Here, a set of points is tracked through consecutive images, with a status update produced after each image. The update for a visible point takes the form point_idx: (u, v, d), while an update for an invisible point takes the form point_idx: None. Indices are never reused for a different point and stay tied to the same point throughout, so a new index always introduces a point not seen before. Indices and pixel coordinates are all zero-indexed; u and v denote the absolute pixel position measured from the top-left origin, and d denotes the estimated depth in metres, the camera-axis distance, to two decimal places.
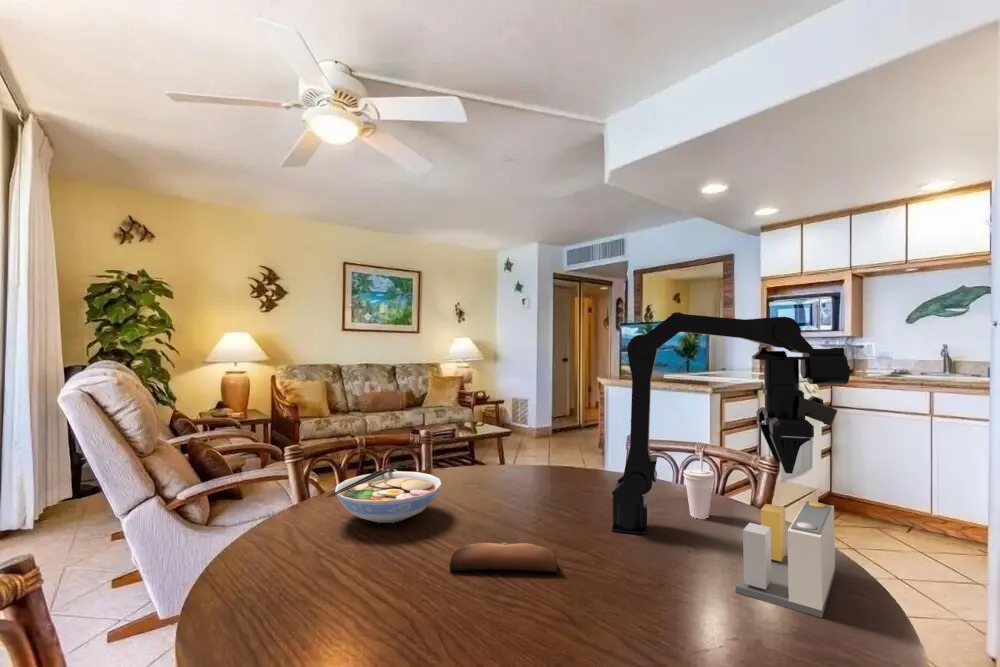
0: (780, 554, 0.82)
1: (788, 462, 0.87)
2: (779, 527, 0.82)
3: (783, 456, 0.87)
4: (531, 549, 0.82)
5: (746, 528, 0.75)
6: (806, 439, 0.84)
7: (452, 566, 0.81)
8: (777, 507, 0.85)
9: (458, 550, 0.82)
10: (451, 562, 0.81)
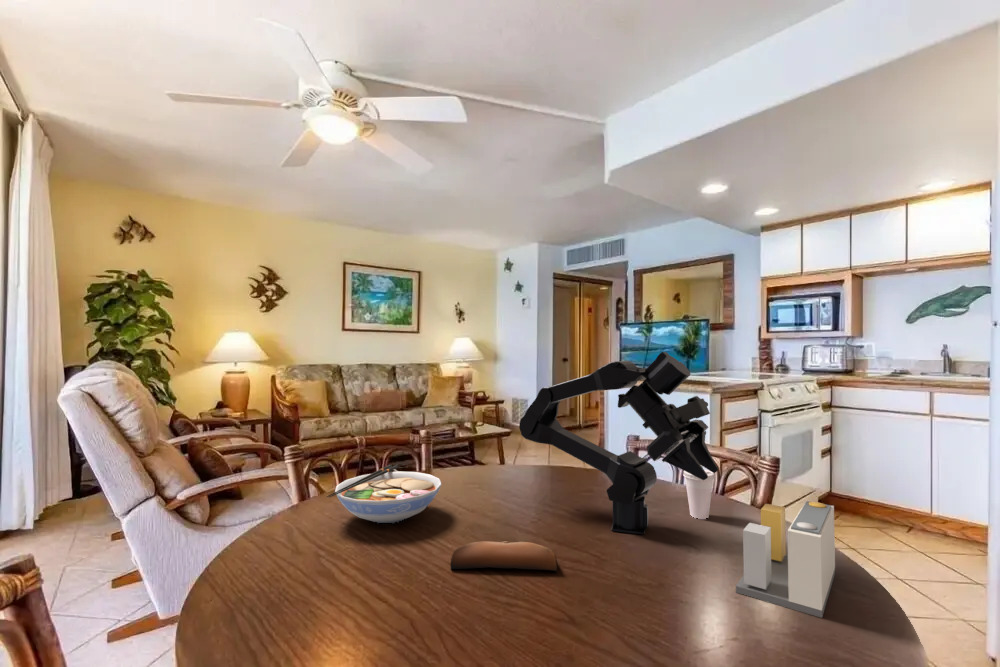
0: (780, 554, 0.82)
1: (695, 470, 0.89)
2: (779, 527, 0.82)
3: (687, 469, 0.89)
4: (531, 548, 0.83)
5: (746, 528, 0.75)
6: (681, 444, 0.88)
7: (452, 564, 0.82)
8: (777, 507, 0.85)
9: (459, 548, 0.83)
10: (452, 560, 0.82)
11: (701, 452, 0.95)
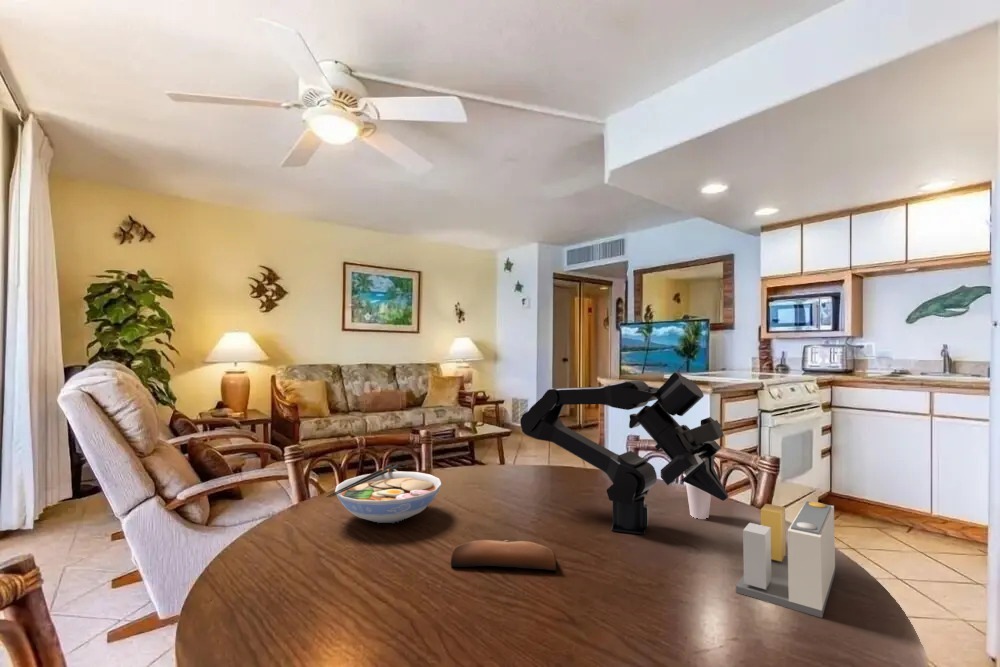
0: (780, 554, 0.82)
1: (715, 491, 0.89)
2: (779, 527, 0.82)
3: (707, 489, 0.90)
4: (531, 548, 0.83)
5: (746, 528, 0.75)
6: (700, 465, 0.89)
7: (453, 562, 0.83)
8: (777, 507, 0.85)
9: (459, 546, 0.84)
10: (452, 558, 0.83)
11: None
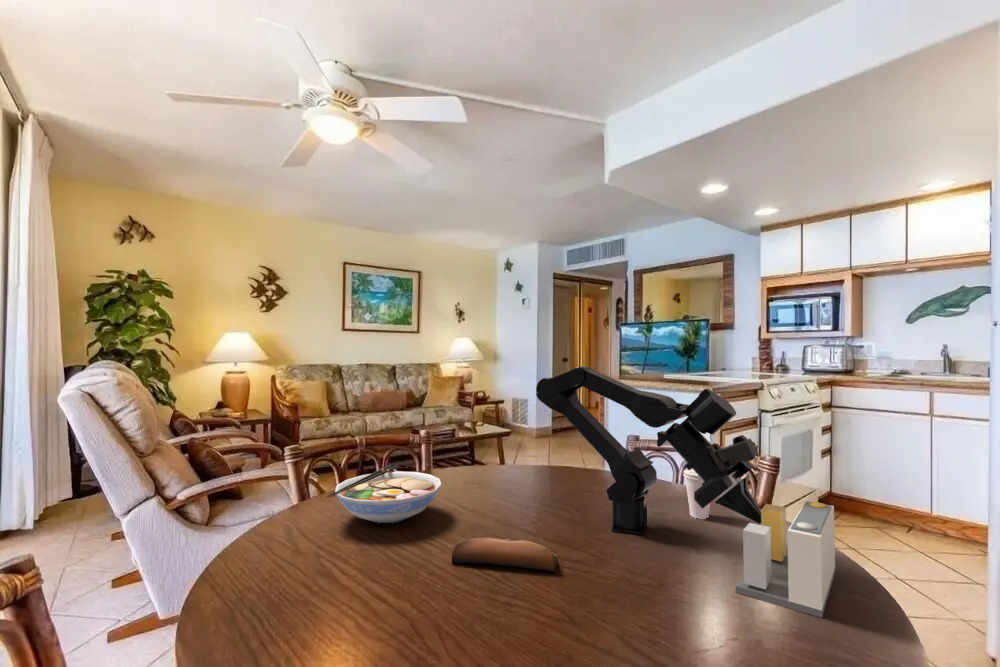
0: (781, 554, 0.82)
1: (750, 513, 0.86)
2: (780, 527, 0.82)
3: (742, 511, 0.86)
4: (530, 547, 0.83)
5: (746, 528, 0.75)
6: (735, 486, 0.85)
7: (453, 558, 0.84)
8: (778, 507, 0.85)
9: (460, 543, 0.85)
10: (453, 554, 0.85)
11: None
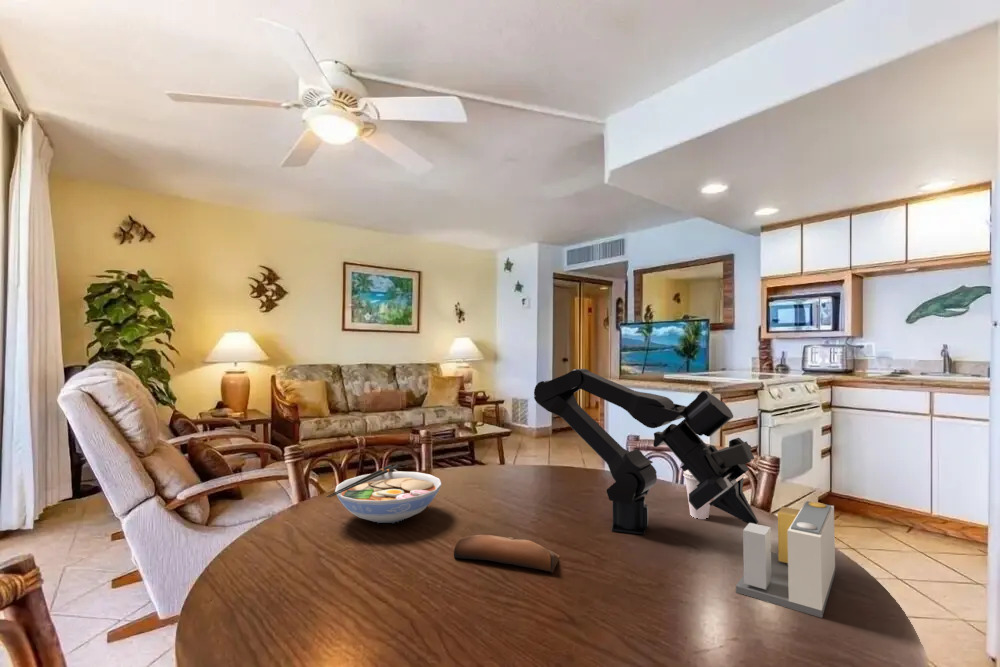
0: None
1: (744, 515, 0.86)
2: None
3: (736, 513, 0.87)
4: (529, 547, 0.83)
5: (746, 528, 0.75)
6: (730, 489, 0.85)
7: (455, 553, 0.86)
8: (794, 510, 0.83)
9: (462, 539, 0.87)
10: (455, 549, 0.87)
11: None
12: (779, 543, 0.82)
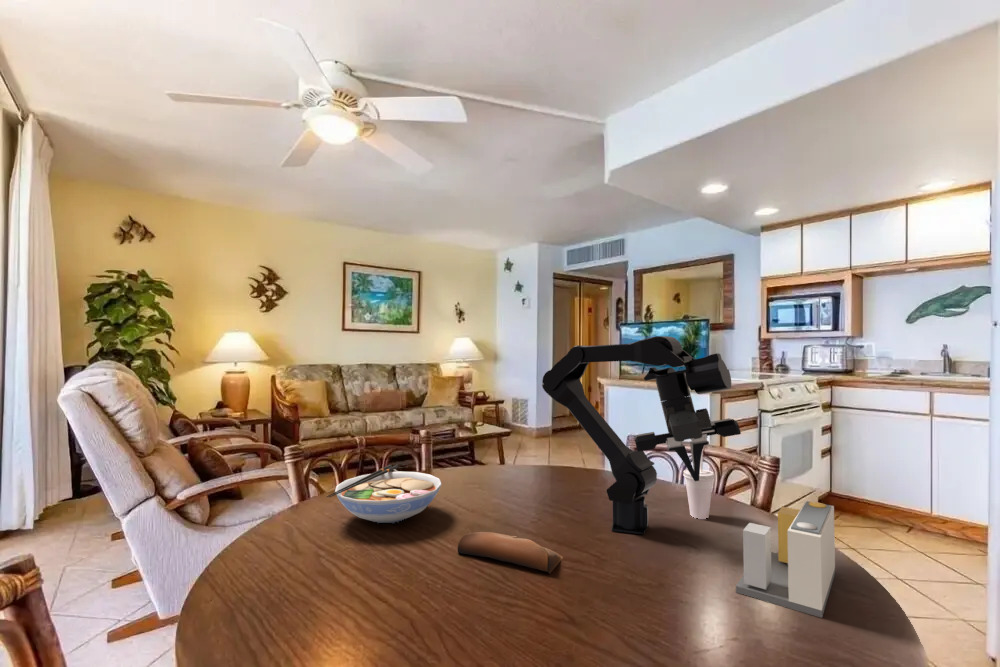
0: None
1: (688, 470, 0.93)
2: None
3: None
4: (528, 546, 0.84)
5: (746, 528, 0.75)
6: (668, 449, 0.93)
7: (458, 548, 0.88)
8: (794, 510, 0.83)
9: (466, 535, 0.89)
10: (458, 545, 0.89)
11: (693, 458, 0.93)
12: (779, 543, 0.82)
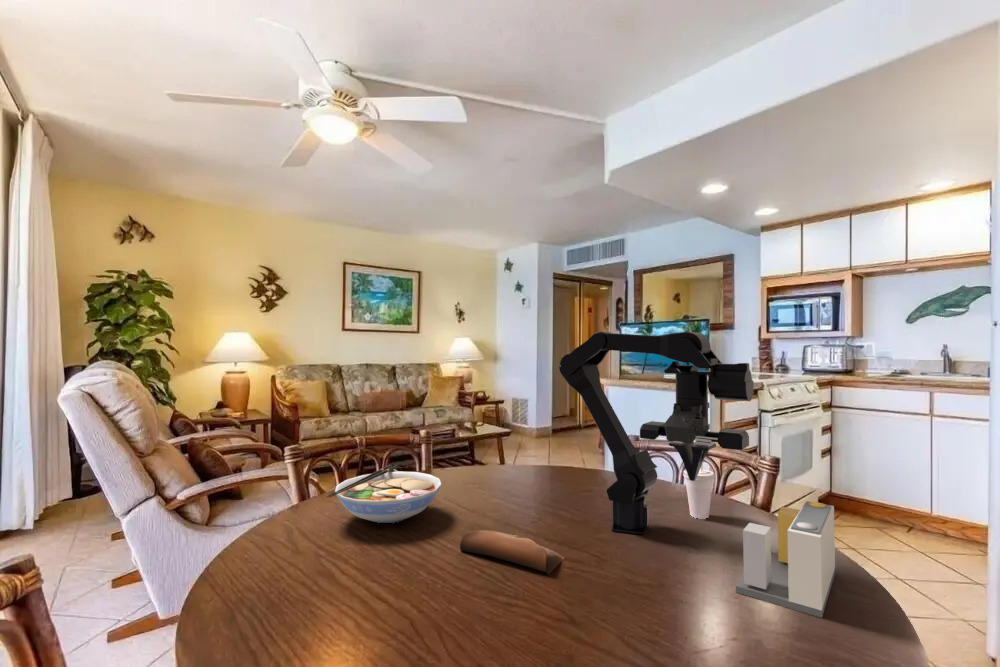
0: None
1: None
2: None
3: None
4: (528, 546, 0.84)
5: (746, 528, 0.75)
6: (669, 443, 0.94)
7: (461, 546, 0.89)
8: (794, 510, 0.83)
9: (469, 533, 0.90)
10: (461, 542, 0.90)
11: None
12: (779, 543, 0.82)
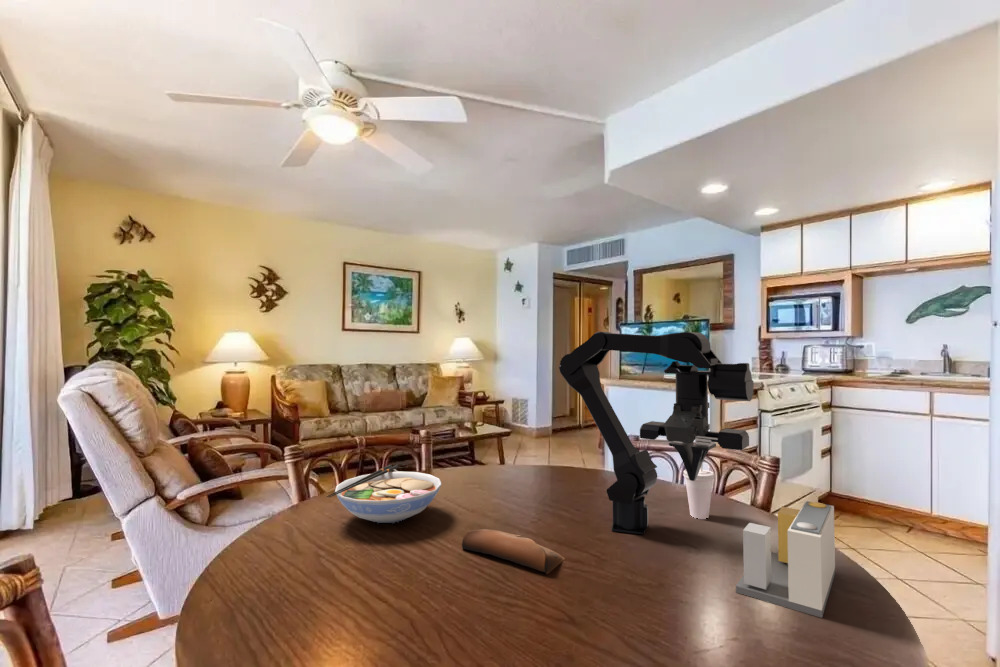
0: None
1: None
2: None
3: None
4: (528, 545, 0.84)
5: (746, 528, 0.75)
6: (669, 443, 0.94)
7: (463, 544, 0.90)
8: (794, 510, 0.83)
9: (471, 532, 0.91)
10: (463, 541, 0.90)
11: None
12: (779, 543, 0.82)
